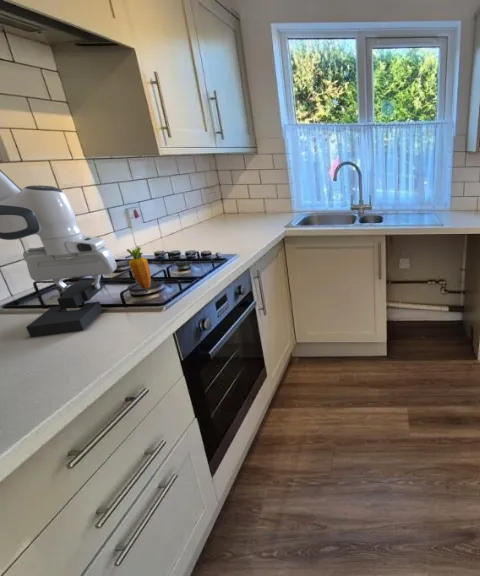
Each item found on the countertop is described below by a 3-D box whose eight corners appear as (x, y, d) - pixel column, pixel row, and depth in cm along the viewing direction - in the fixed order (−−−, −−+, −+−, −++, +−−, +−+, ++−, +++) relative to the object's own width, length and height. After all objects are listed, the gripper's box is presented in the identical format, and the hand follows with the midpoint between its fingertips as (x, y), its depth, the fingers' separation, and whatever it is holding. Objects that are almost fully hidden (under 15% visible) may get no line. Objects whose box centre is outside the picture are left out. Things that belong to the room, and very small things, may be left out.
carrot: (134, 293, 116) (120, 248, 110) (148, 287, 121) (135, 244, 115) (146, 295, 115) (132, 250, 109) (159, 289, 119) (146, 245, 113)
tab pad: (56, 309, 98) (52, 299, 97) (80, 290, 111) (77, 281, 110) (81, 306, 100) (77, 296, 99) (103, 287, 112) (99, 278, 111)
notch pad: (30, 337, 92) (25, 326, 90) (55, 316, 102) (51, 306, 101) (83, 330, 94) (79, 320, 93) (102, 310, 105) (99, 301, 104)
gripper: (13, 252, 96) (34, 299, 101) (101, 244, 101) (117, 289, 106) (27, 245, 101) (46, 290, 107) (110, 238, 106) (125, 282, 112)
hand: (82, 290), depth 106 cm, fingers closed on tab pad, 6 cm apart
